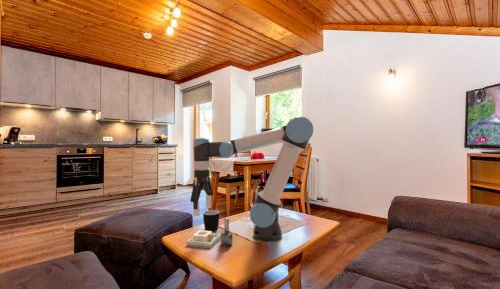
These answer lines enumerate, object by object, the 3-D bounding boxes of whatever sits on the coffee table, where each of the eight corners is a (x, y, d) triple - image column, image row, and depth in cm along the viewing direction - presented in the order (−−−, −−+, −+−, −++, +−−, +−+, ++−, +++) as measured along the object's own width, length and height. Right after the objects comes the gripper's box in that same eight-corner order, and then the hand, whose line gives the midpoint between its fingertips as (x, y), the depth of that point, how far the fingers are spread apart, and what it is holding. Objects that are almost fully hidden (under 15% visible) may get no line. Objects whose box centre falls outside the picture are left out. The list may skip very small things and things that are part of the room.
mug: (221, 231, 137) (221, 213, 136) (205, 234, 133) (204, 215, 133) (216, 224, 148) (216, 208, 148) (201, 226, 145) (201, 209, 144)
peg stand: (234, 242, 122) (233, 216, 122) (230, 247, 117) (229, 220, 116) (223, 241, 123) (223, 215, 123) (219, 246, 118) (218, 219, 118)
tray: (221, 238, 128) (221, 233, 128) (210, 248, 116) (210, 243, 116) (199, 235, 131) (198, 231, 131) (186, 245, 119) (186, 241, 119)
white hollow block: (193, 242, 121) (192, 235, 121) (199, 236, 128) (199, 230, 128) (209, 243, 119) (209, 236, 119) (214, 238, 126) (214, 231, 126)
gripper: (205, 166, 136) (206, 204, 137) (181, 172, 112) (183, 218, 113) (218, 166, 134) (219, 205, 135) (196, 172, 110) (198, 219, 111)
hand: (203, 211), depth 124 cm, fingers open, 13 cm apart
